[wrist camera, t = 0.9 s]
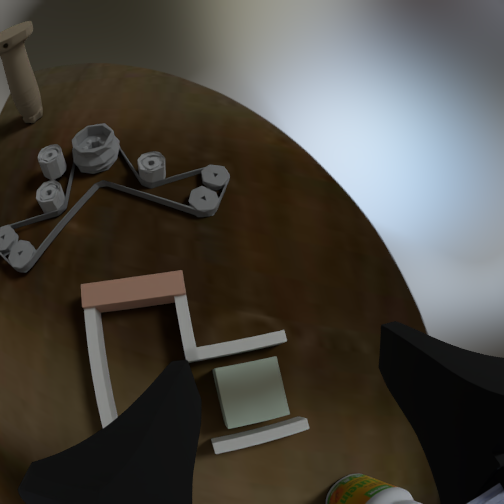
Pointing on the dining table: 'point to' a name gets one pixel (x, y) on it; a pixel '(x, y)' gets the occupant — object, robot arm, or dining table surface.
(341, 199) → the dining table surface
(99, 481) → the robot arm
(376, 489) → the supplement bottle
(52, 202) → the pulley system
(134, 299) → the block
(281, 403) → the block
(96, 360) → the channel
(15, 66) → the handle
